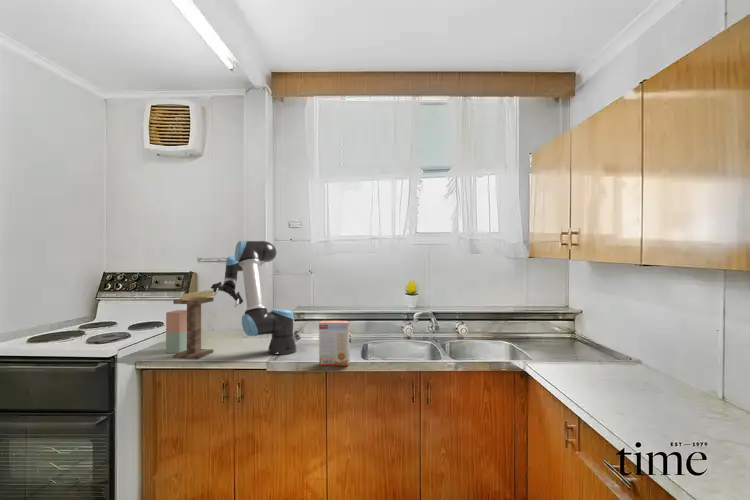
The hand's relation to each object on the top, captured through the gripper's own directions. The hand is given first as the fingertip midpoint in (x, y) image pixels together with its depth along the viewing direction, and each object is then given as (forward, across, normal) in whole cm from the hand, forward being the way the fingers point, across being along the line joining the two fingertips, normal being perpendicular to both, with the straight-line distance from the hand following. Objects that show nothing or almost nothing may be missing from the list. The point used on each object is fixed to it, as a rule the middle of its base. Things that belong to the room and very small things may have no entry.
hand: (226, 299), depth 229 cm
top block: (+9, +12, -25) cm, 29 cm away
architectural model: (+15, -72, +20) cm, 76 cm away
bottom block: (+12, +7, -34) cm, 37 cm away
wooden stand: (+24, +1, -25) cm, 35 cm away
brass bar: (+11, +14, -2) cm, 18 cm away
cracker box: (+60, -50, +24) cm, 82 cm away
